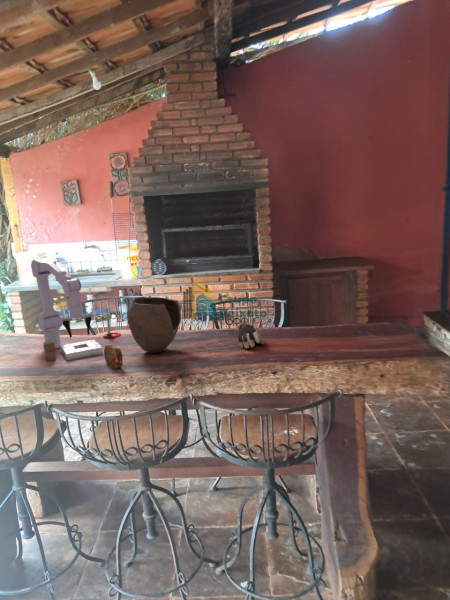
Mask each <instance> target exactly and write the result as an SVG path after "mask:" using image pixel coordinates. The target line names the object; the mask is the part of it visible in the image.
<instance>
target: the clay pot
mask: <svg viewBox="0 0 450 600" xmlns="http://www.w3.org/2000/svg"><path fill="white" fill-rule="evenodd" d="M181 311H182V310H181V306H180V303H179V301H178V300H177V299H174V298H173V299H172V298H168V297H160V296H159V297H158V296H157V297H156V296H151V297H150V296H139V297H134V299H133V300H132V303H131V306H130V307H127V310H126V321H127V326H128V328H129V330H130V332H131V335H132V338H133V340H134V341H135V343H136V344H137V345H138V346H139V347H140V348H141V350H142V351H144V352H147V353H149V354H150V353H151V354H154V353H161V352H163V351H164V350H166V349H167V348H168V346H170V344H171V343H172V342H173V340H175V338H176V335H177V332H178V330H179V326H180V323H181V321H182V312H181Z"/></svg>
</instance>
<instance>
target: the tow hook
mask: <svg viewBox="0 0 450 600" xmlns="http://www.w3.org/2000/svg"><path fill="white" fill-rule="evenodd" d="M109 314H110V313H106V316H107V317H106V323H107V324H106V325H107V332H106V333H105V334H104V335H102V338H103V339H116V338H118V337H120V336H121V335H122V333H121V332H118V331H117V332H116V331H115V332H113V331H112V330H111V323H110V317H109V316H110V315H109ZM111 331H112V332H111Z"/></svg>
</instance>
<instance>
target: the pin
mask: <svg viewBox="0 0 450 600" xmlns="http://www.w3.org/2000/svg"><path fill="white" fill-rule="evenodd" d="M42 344H43V345H44V346H43V349H44V357H45V361H46V362H52V361H53V362H54V361H57V356H56V349H55V346H54V342H53V341H48V342H45V341H43V343H42Z"/></svg>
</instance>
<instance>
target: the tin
mask: <svg viewBox="0 0 450 600" xmlns="http://www.w3.org/2000/svg"><path fill="white" fill-rule="evenodd" d="M103 354H104V360H105V362H106V364H107V365H108V366H110V367H112V368H113V369H119V368H122V366H123V364H124V363H123V362H124V361H123V352H122V350H121V348H119V347H117V346H116V345H113V344H107V345H106V344H105V346H104V349H103Z"/></svg>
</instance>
